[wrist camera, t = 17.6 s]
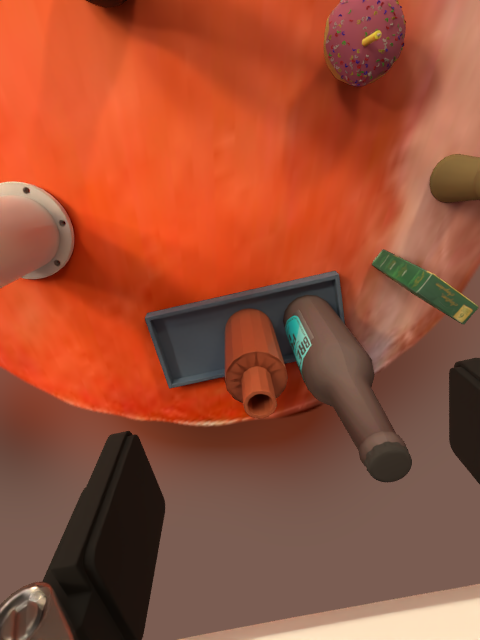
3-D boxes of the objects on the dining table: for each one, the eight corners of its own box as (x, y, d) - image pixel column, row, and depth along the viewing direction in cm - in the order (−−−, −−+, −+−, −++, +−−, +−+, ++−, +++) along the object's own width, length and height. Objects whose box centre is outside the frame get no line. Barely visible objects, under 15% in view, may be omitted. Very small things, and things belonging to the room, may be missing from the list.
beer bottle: (275, 303, 54) (329, 446, 26) (324, 286, 53) (434, 413, 25) (290, 346, 57) (353, 516, 29) (337, 330, 56) (449, 488, 28)
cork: (447, 212, 50) (504, 222, 40) (420, 181, 49) (472, 184, 38) (484, 176, 49) (552, 177, 38) (457, 143, 47) (521, 135, 37)
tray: (170, 381, 59) (169, 388, 57) (147, 313, 54) (144, 318, 52) (344, 344, 57) (348, 350, 55) (335, 270, 53) (339, 274, 51)
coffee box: (424, 277, 54) (482, 307, 42) (410, 292, 54) (464, 327, 42) (383, 247, 52) (432, 270, 40) (370, 264, 53) (413, 292, 40)
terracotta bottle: (231, 356, 57) (234, 439, 39) (220, 314, 54) (217, 383, 36) (276, 346, 56) (300, 425, 39) (267, 303, 54) (288, 367, 36)
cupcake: (359, 107, 45) (404, 86, 34) (300, 70, 43) (326, 35, 32) (400, 31, 42) (463, -19, 31) (339, -12, 40) (382, -81, 29)
